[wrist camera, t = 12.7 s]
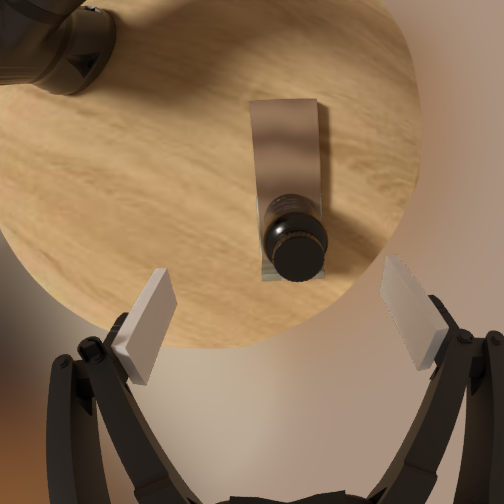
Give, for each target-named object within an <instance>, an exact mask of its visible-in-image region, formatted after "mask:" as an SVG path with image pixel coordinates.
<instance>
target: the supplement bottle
mask: <svg viewBox="0 0 504 504" xmlns="http://www.w3.org/2000/svg"><path fill="white" fill-rule="evenodd" d="M327 248H328V235H327V231H326V229H325V227H324V225H323V223H322V221H321V219H320V217H319V215H318V213H317V211H316V209H315V208H314V206H313V204H312V203H311V202H310V201H309V200H308V199H307V198H305V197H303V196H301V195H298V194H284V195H281V196H279V197H277V198H275V199H274V200H273V201H272V202H271V203H270V204H269V205H268V207H267V209H266V212H265V216H264V228H263V250H264V253H265V255H266V257H267V259H268V260H269V262H270V263H271V264H272V265H273V266H274V268H275V269H276V271H277V273H279V275H280V276H282V277H283V278H284V279H287V280H288V281H292V282H303V281H307V280H309V279H312V278H313V277H315V276H316V274H318V273H319V271H320V270H321V269H322V266H323V265H324V263H323V262H324V260H325V259H324V256H325V254H326V251H327Z"/></svg>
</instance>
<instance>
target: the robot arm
mask: <svg viewBox="0 0 504 504" xmlns="http://www.w3.org/2000/svg"><path fill="white" fill-rule="evenodd" d="M85 1H86V0H0V85H11V84H33V85H35V86H37V87H39V88H41V89H43V90H45V91H46V92H48V93H50V94H55V95H68V94H73V93H76V92H78V91H80V90H82V89H83V88H85V87H86V86H88V85H89V84H90V83H91V82H92V81H93V80H94V79H95V78H96V77H97V76H98V75H99V74H100V72H101V71H102V70H103V68H104V67H105V65H106V63H107V62H108V60H109V58H110V55H111V53H112V50H113V47H114V43H115V37H116V29H115V24H114V21H113V19H112V17H111V16H110V15H109V14H108V13H107V12H105V11H103V10H101V9H99V8H97V7H93V6H80V5H81V4H83V3H84V2H85ZM380 295H381V296H382V298H383V300H384V302H385V304H386V306H387V308H388V310H389V312H390V314H391V316H392V318H393V320H394V322H395V324H396V326H397V328H398V330H399V332H400V334H401V336H402V338H403V340H404V343H405V345H406V347H407V349H408V351H409V353H410V355H411V358H412V360H413V362H414V364H415V367H416V369H417V371H421V370H425V369H428V368H430V367H431V365H432V363H433V361H435V363H436V365H437V367H436V369H435V370H434V372H433V374H432V376H431V377H430V380H431V381H430V384H429V386H428V389H427V391H426V394H425V396H424V399H423V402H422V404H421V406H420V408H419V410H418V413H417V415H416V417H415V419H414V421H413V423H412V425H411V427H410V430H409V432H408V434H407V435H406V437H405V439H404V441H403V443H402V445H401V447H400V449H399V451H398V452H397V454H396V456H395V458H394V459H393V461H392V463H391V464H390V466H389V468H388V469H387V471H386V473H385V474H384V476H383V477H382V479H381V480H380V482H379V483H378V484H377V485H376V487H375V488H374V489H373V490H372V491H371V493H370V494H369V495H368V497H367V498H366V499H365V498H363V497H359V496H356V495H349V494H348V495H347V494H345V490H343V491H337V492H330V493H322V494H316V495H313V496H310V497H307V498H304V499H301V500H297V501H294V502H289V503H285V502H279V501H274V500H269V499H264V498H259V497H235V496H230V500H228V501H223V502H219V503H216V504H425V502H426V501H427V499H428V497H429V495H430V493H431V491H432V489H433V487H434V485H435V483H436V481H437V475H436V471H437V468H438V466H439V464H440V462H441V459H442V457H443V455H444V452H445V450H446V447H447V445H448V442H449V440H450V437H451V434H452V431H453V428H454V426H455V423H456V419H457V416H458V413H459V410H460V407H461V403H462V399H463V396H464V392H465V388H466V385H467V399H466V400H467V402H466V403H467V404H466V424H465V435H464V445H463V453H462V460H461V466H460V472H459V478H458V483H457V488H456V492H455V497H454V502H453V504H504V336H503V334H501V333H500V332H498V331H490V332H488V334H487V335H486V337H485V338H474V336H473V335H472V334H471V333H470V332H469V331H467V330H465V329H459V327H458V325H457V324H456V322H455V321H454V319H453V318H452V316H451V315H450V313H448V311H447V309H446V308H445V307H444V305H443V303H442V302H441V301H440V300H439V299H438V298H437V297H435V296H434V295H427V294H426V293H425V291H424V290H423V288H422V287H421V286H420V284H419V283H418V281H417V280H416V279H415V277H414V276H413V275H412V273H411V272H410V271H409V269H408V268H407V267H406V265H405V264H404V263H403V261H402V260H401V259H400V258H399V256H398V255H386V260H385V265H384V271H383V277H382V282H381V288H380ZM176 306H177V301H176V298H175V294H174V291H173V287H172V284H171V280H170V276H169V273H168V269H167V268H156V269H155V270H154V272H153V274H152V275H151V277H150V279H149V280H148V282H147V284H146V285H145V287H144V288H143V290H142V292H141V294H140V295H139V297H138V299H137V300H136V302H135V304H134V305H133V307H132V309H131V311H130V312H129V313H126V312H124V313H123V314H122V315H120V316H119V317H118V318H117V320H116V321H115V323H114V325H113V326H112V328H111V330H110V332H109V333H108V335H107V337H106V339H105V340H104V342H103V343H102V342H101V340H100V339H99V338H98V337H95V336H94V337H92V336H91V337H88V338H86V339H84V340H82V341H81V342H80V344H79V346H78V347H77V351H78V353H79V355H80V356H81V358H82V359H83V360H77V361H74V360H73V358H72V357H71V356H70V355H68V354H63V355H60V356H59V357H57V358H56V359H55V360H54V362H53V364H52V369H51V376H50V384H49V395H48V406H47V427H46V462H47V479H48V489H49V498H50V504H111V502H110V498H109V494H108V489H107V484H106V479H105V474H104V468H103V462H102V456H101V448H100V441H99V432H98V421H97V408H96V401H97V404H98V406H99V409H100V412H101V414H102V417H103V420H104V423H105V425H106V428H107V430H108V433H109V435H110V437H111V439H112V442H113V444H114V446H115V449H116V451H117V453H118V455H119V457H120V459H121V462H122V464H123V466H124V467H125V470H126V472H127V474H128V476H129V477H130V479H131V481H132V483H133V485H134V487H135V490H134V495H135V497H136V499H137V501H138V503H139V504H202V502H201V501H200V500H199V499H198V498H197V496H196V495H195V494H194V493H193V492H192V491H191V490H190V489H189V487H188V486H187V485H186V483H185V482H184V480H183V479H182V478H181V476H180V475H179V473H178V472H177V470H176V469H175V467H174V466H173V464H172V463H171V462H170V460H169V459H168V457H167V455H166V454H165V452H164V450H163V449H162V447H161V446H160V444H159V442H158V441H157V439H156V437H155V436H154V434H153V432H152V431H151V429H150V427H149V425H148V423H147V421H146V420H145V418H144V416H143V414H142V412H141V410H140V408H139V407H138V405H137V403H136V401H135V399H134V397H133V395H132V393H131V391H130V388H129V386H128V385H127V383H126V382H127V380H128V377H129V378H130V380H131V381H132V383H133V384H138V385H147V382H148V379H149V377H150V374H151V371H152V368H153V366H154V363H155V360H156V358H157V355H158V352H159V349H160V347H161V344H162V342H163V339H164V336H165V334H166V331H167V329H168V326H169V324H170V321H171V319H172V316H173V314H174V311H175V309H176Z"/></svg>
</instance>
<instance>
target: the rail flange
mask: <svg viewBox="0 0 504 504" xmlns="http://www.w3.org/2000/svg"><path fill="white" fill-rule="evenodd" d="M249 103H250V115H251V126H252V138H253V149H254V161H255V173H256V186H257V197H256V203H257V216H258V228H259V241H260V254H261V255H262V274H261V275H262V281H285V280H287V279H284V278H283V277H282V276H280V275H279V273H277V271H276V269H275V268H274V266H273V265H272V264H271V263H270V262H269V260H268V259H267V257H266V255H265V253H264V250H263V228H264V216H265V212H266V209H267V207H268V205H269V204H270V203H271V202H272V201H273V200H274V199H275V198H277V197H279V196H281V195H284V194H298V195H301V196H303V197H305V198H307V199H308V200H309V201H310V202H311V203H312V204H313V206H314V208H315V209H316V211H317V213H318V215H319V217H320V219H321V221H322V196H321V183H320V148H319V127H318V111H317V99H275V100H259V101H249ZM319 278H325V270H324V267H323V266H322V269H321V270H320V271H319V273H318V274H316V276H315V277H313V278H312V279H319Z"/></svg>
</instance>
